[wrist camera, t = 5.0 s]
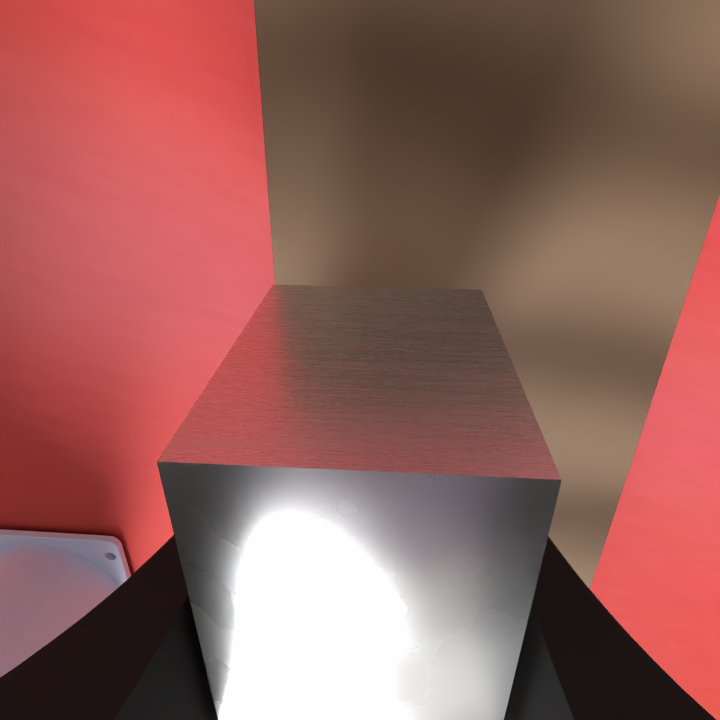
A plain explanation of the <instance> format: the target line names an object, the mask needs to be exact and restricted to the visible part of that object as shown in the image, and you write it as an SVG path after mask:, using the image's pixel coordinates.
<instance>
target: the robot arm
mask: <svg viewBox="0 0 720 720" xmlns="http://www.w3.org/2000/svg"><path fill="white" fill-rule="evenodd" d="M0 720H218V717H217V713H216V709H215V705H214V700H213V696H212V692H211V688H210V684H209V679H208V675H207V671H206V667H205V662H204V658H203V654H202V650H201V646H200V641H199V637H198V633H197V629H196V624H195V620H194V616H193V612H192V608H191V603H190V599H189V595H188V591H187V586H186V582H185V578H184V574H183V570H182V565H181V561H180V557H179V553H178V548H177V544H176V540H175V536H174V535H173V536H172V537H171V538H170V539H169V540H168V541H167V542H166V543H165V544H164V545H163V546H162V547H161V548H160V549H159V550H158V551H157V552H156V553H155V554H154V555H153V556H152V557H151V558H150V559H149V560H147V561H146V562H145V563H144V564H143V565H142V566H141V567H140V568H139V569H138V570H137V571H136V572H135V573H134V574H133V575H132V576H131V574H130V570H129V567H128V564H127V560H126V557H125V554H124V550H123V547H122V544H121V542H120V540H119V539H117V538H116V537H114V536H105V535H88V534H72V533H55V532H38V531H21V530H4V529H0ZM504 720H716V719H715V718H714V717H713V716H711V715H710V714H709V713H708V712H707V711H706V710H705V709H704V708H703V707H702V706H700V705H699V704H698V703H697V702H696V701H695V700H694V699H693V698H692V697H691V696H690V695H688V694H687V693H686V692H685V691H684V690H683V689H682V688H681V687H680V686H679V685H678V684H677V683H676V682H675V681H674V680H673V679H672V678H671V677H670V676H669V675H668V674H667V673H666V672H665V671H664V670H663V669H662V668H661V667H660V666H659V665H658V664H657V663H656V662H655V661H654V660H653V659H652V658H651V657H650V656H649V655H648V654H647V653H646V652H645V651H644V650H643V649H642V648H641V647H640V646H639V645H638V643H637V642H636V641H635V640H634V639H633V638H632V637H631V636H630V635H629V634H628V633H627V632H626V631H625V630H624V628H623V627H622V626H621V625H620V624H619V623H618V622H617V621H616V619H615V618H614V617H613V616H612V615H611V614H610V613H609V612H608V610H607V609H606V608H605V607H604V606H603V604H602V603H601V602H600V601H599V600H598V599H597V597H596V596H595V595H594V594H593V593H592V591H591V590H590V589H589V588H588V587H587V585H586V584H585V583H584V582H583V580H582V579H581V578H580V577H579V575H578V574H577V573H576V572H575V570H574V569H573V568H572V566H571V565H570V564H569V563H568V561H567V560H566V559H565V557H564V556H563V555H562V553H561V552H560V551H559V549H558V548H557V547H556V545H555V544H554V543H553V541H552V540H551V539H550V537H549V536H548V539H547V543H546V547H545V551H544V555H543V560H542V564H541V568H540V572H539V576H538V580H537V584H536V589H535V593H534V597H533V601H532V605H531V609H530V613H529V617H528V622H527V626H526V630H525V634H524V638H523V642H522V646H521V651H520V655H519V659H518V663H517V667H516V671H515V675H514V680H513V684H512V688H511V692H510V696H509V700H508V704H507V709H506V713H505V717H504Z"/></svg>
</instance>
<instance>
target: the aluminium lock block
mask: <svg viewBox="0 0 720 720" xmlns="http://www.w3.org/2000/svg"><path fill="white" fill-rule="evenodd" d="M157 464H158V468H159V472H160V477H161V481H162V485H163V489H164V494H165V498H166V502H167V506H168V510H169V515H170V519H171V523H172V527H173V532H174V536H175V540H176V544H177V548H178V553H179V557H180V561H181V565H182V570H183V574H184V578H185V582H186V586H187V591H188V595H189V599H190V603H191V608H192V612H193V616H194V620H195V624H196V629H197V633H198V637H199V641H200V646H201V650H202V654H203V658H204V662H205V667H206V671H207V675H208V679H209V684H210V688H211V692H212V696H213V700H214V705H215V709H216V713H217V717H218V720H504V717H505V713H506V709H507V704H508V700H509V696H510V692H511V688H512V684H513V680H514V675H515V671H516V667H517V663H518V659H519V655H520V651H521V646H522V642H523V638H524V634H525V630H526V626H527V622H528V617H529V613H530V609H531V605H532V601H533V597H534V593H535V589H536V584H537V580H538V576H539V572H540V568H541V564H542V560H543V555H544V551H545V547H546V543H547V539H548V535H549V531H550V526H551V522H552V518H553V514H554V510H555V506H556V502H557V497H558V493H559V489H560V485H561V481H562V479H561V477H560V474H559V472H558V470H557V467H556V465H555V463H554V460H553V458H552V455H551V453H550V451H549V448H548V446H547V444H546V441H545V439H544V436H543V434H542V432H541V429H540V427H539V425H538V422H537V420H536V417H535V415H534V413H533V410H532V408H531V405H530V403H529V401H528V398H527V396H526V394H525V391H524V389H523V386H522V384H521V382H520V379H519V377H518V375H517V372H516V370H515V367H514V365H513V363H512V360H511V358H510V356H509V353H508V351H507V348H506V346H505V344H504V341H503V339H502V336H501V334H500V332H499V329H498V327H497V325H496V322H495V320H494V317H493V315H492V313H491V310H490V308H489V306H488V303H487V301H486V298H485V296H484V294H483V291H482V290H479V289H436V288H394V287H352V286H310V285H273V286H272V287H271V289H270V290H269V292H268V293H267V295H266V296H265V298H264V299H263V301H262V302H261V304H260V305H259V307H258V308H257V310H256V311H255V313H254V314H253V316H252V317H251V319H250V321H249V322H248V324H247V325H246V327H245V328H244V330H243V331H242V333H241V334H240V336H239V337H238V339H237V340H236V342H235V343H234V345H233V346H232V348H231V349H230V351H229V352H228V354H227V355H226V357H225V359H224V360H223V362H222V363H221V365H220V366H219V368H218V369H217V371H216V372H215V374H214V375H213V377H212V378H211V380H210V381H209V383H208V384H207V386H206V387H205V389H204V390H203V392H202V394H201V395H200V397H199V398H198V400H197V401H196V403H195V404H194V406H193V407H192V409H191V410H190V412H189V413H188V415H187V416H186V418H185V419H184V421H183V422H182V424H181V425H180V427H179V428H178V430H177V432H176V433H175V435H174V436H173V438H172V439H171V441H170V442H169V444H168V445H167V447H166V448H165V450H164V451H163V453H162V454H161V456H160V457H159V459H158V460H157Z"/></svg>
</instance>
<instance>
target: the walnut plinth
mask: <svg viewBox="0 0 720 720" xmlns="http://www.w3.org/2000/svg"><path fill="white" fill-rule="evenodd" d="M254 7H255V21H256V34H257V48H258V61H259V75H260V88H261V102H262V115H263V129H264V142H265V156H266V169H267V183H268V196H269V209H270V223H271V236H272V250H273V263H274V277H275V285H310V286H352V287H394V288H436V289H479V290H482V291H483V294H484V296H485V298H486V301H487V303H488V306H489V308H490V310H491V313H492V315H493V317H494V320H495V322H496V325H497V327H498V329H499V332H500V334H501V336H502V339H503V341H504V344H505V346H506V348H507V351H508V353H509V356H510V358H511V360H512V363H513V365H514V367H515V370H516V372H517V375H518V377H519V379H520V382H521V384H522V386H523V389H524V391H525V394H526V396H527V398H528V401H529V403H530V405H531V408H532V410H533V413H534V415H535V417H536V420H537V422H538V425H539V427H540V429H541V432H542V434H543V436H544V439H545V441H546V444H547V446H548V448H549V451H550V453H551V455H552V458H553V460H554V463H555V465H556V467H557V470H558V472H559V474H560V477H561V479H562V481H561V485H560V489H559V493H558V497H557V502H556V506H555V510H554V514H553V518H552V522H551V526H550V531H549V535H548V536H549V537H550V539H551V540H552V541H553V543H554V544H555V545H556V547H557V548H558V549H559V551H560V552H561V553H562V555H563V556H564V557H565V559H566V560H567V561H568V563H569V564H570V565H571V566H572V568H573V569H574V570H575V572H576V573H577V574H578V575H579V577H580V578H581V579H582V580H583V582H584V583H585V584H586V585H587V587H588V588H589V589H590V587H591V584H592V581H593V578H594V574H595V571H596V568H597V565H598V562H599V559H600V556H601V553H602V550H603V547H604V544H605V541H606V538H607V535H608V532H609V529H610V526H611V523H612V520H613V517H614V514H615V511H616V508H617V505H618V502H619V498H620V495H621V492H622V489H623V486H624V483H625V480H626V477H627V474H628V471H629V468H630V465H631V462H632V459H633V456H634V453H635V450H636V447H637V444H638V441H639V438H640V435H641V432H642V429H643V426H644V423H645V419H646V416H647V413H648V410H649V407H650V404H651V401H652V398H653V395H654V392H655V389H656V386H657V383H658V380H659V377H660V374H661V371H662V368H663V365H664V362H665V359H666V356H667V353H668V350H669V347H670V343H671V340H672V337H673V334H674V331H675V328H676V325H677V322H678V319H679V316H680V313H681V310H682V307H683V304H684V301H685V298H686V295H687V292H688V289H689V286H690V283H691V280H692V277H693V274H694V271H695V267H696V264H697V261H698V258H699V255H700V252H701V249H702V246H703V243H704V240H705V237H706V234H707V231H708V228H709V225H710V222H711V219H712V216H713V213H714V210H715V207H716V204H717V201H718V198H719V195H720V0H254Z"/></svg>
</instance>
